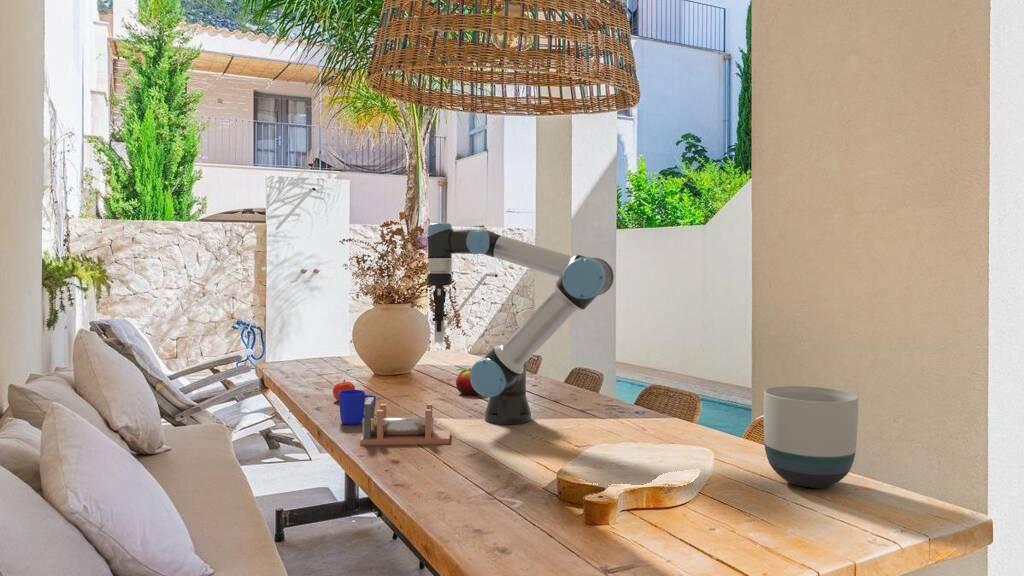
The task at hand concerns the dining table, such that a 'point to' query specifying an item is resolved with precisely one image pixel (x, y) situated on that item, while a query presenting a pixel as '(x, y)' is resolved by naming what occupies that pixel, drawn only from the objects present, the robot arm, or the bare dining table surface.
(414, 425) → the tube
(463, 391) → the fruit
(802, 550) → the dining table surface
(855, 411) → the planter
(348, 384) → the apple
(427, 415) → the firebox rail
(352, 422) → the mug
